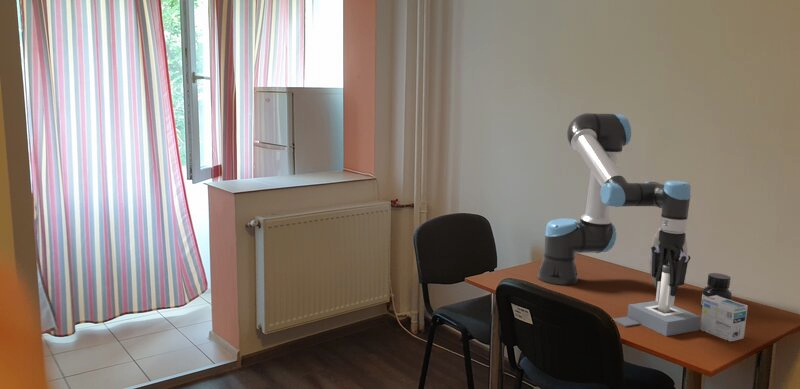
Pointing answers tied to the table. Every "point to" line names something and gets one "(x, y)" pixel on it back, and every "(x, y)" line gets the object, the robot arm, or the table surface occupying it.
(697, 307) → the table surface
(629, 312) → the panel
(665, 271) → the stylus
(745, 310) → the light bulb box
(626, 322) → the pad
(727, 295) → the ink bottle
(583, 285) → the table surface
